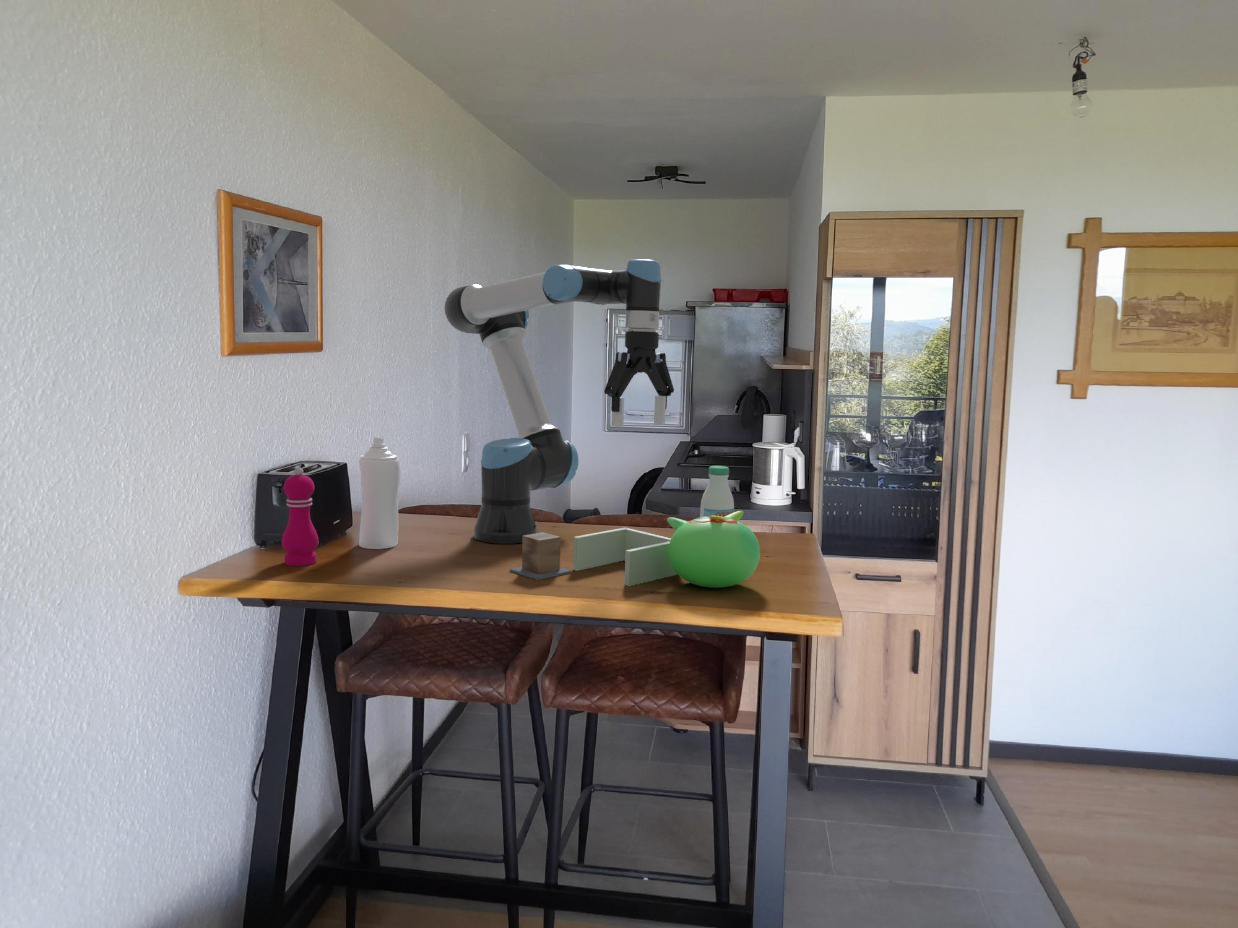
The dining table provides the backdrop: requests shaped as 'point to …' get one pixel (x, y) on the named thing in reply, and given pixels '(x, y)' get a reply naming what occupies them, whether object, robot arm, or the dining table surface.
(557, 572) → the coaster
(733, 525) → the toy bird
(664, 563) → the u-shaped panel enclosure
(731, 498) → the milk bottle
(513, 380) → the robot arm
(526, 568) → the walnut block
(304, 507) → the pepper mill
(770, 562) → the dining table surface
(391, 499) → the spray can
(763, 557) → the dining table surface
